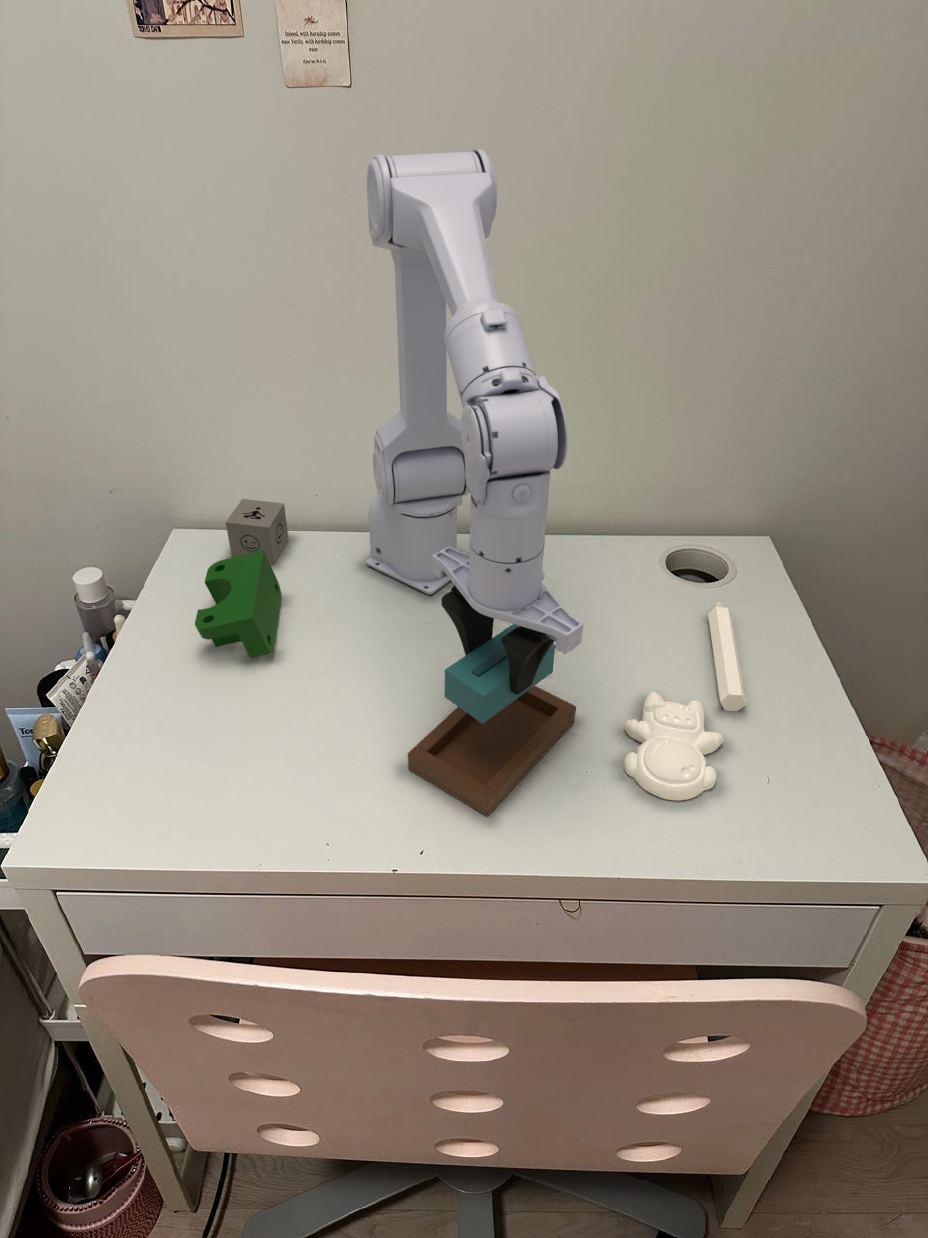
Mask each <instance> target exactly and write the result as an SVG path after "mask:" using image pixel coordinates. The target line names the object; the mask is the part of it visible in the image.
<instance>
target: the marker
mask: <svg viewBox="0 0 928 1238" xmlns="http://www.w3.org/2000/svg"><path fill="white" fill-rule="evenodd" d="M708 622H709V623H708V624H709V631H710V637H711V645H712V651H713V661H714V666H715V667H714V668H715V674H716V675H715V676H716V683H717V690H718V696H719V702H720V705H721V706H722V708H723V710H724V711H727V712H739V711H740V710H742V709H743V708H744V707H745V706H746V705H747V698H746V693H745V687H744V681H743V675H742V669H741V662H740V657H739V656H740V655H739V651H738V644H737V638H736V633H735V627H734V622H733V615H732V613H731V611H730V609H729V607H724V606H723V604H722V603H721V602H720V600H717V601H716V604H715V606H714V607H713V609H712V610H711V611H710V612H708Z"/></svg>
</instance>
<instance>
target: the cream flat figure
mask: <svg viewBox="0 0 928 1238" xmlns="http://www.w3.org/2000/svg"><path fill="white" fill-rule="evenodd" d="M705 715H706V714H705V709H704V706H703V704H702V702H701V701H700V700H697V699H693V700H690V701H689V702H688V703H687V704H683V703H679V702H674V701H666V700H665V699H664V698H663V697H662V696H661V694H659V693H658V692H657V691H652V692H650V693H648V694H647V696H646V698H645V699H644V703H643V708H642V716H641V717H642V718H641V720H639V721H638V720H637V719H636V718H632V719H628V720H626V722H625V723H624V728H625V732H626V734H627V736H629V738H632V739H633V740H635V741H637V742H639V743H641V744H639V746H638V747H637V748H636V752H634V751H631V752H628V753H627V754H626V756H625V757H624V760H623V768H624V771H625V773H626V774H627V775H628V776H629V777H631V778H633V779H634V780H635V782H636V784H638V785H639V786H640V787H641V788H642V789H643V790H645V791H646V792H647V793H649V794H651V795H653V796H656V797H658V798H660V799H663V800H668V801H669V800H670V801H687V800H691V799H694V798H695V797H698V796H699V795H701V794H702V793H703V791H708V790H710V789H712V788H713V787H714V785H715V784H716V782H717V772H716V770H715V768H714V767H713V766H712V765H708V766H707V759H706V757H705V755H708V754H712V753H714V752H715V751H716V750H718V749H719V747H720V746H721V745H722V744H723V743H724V736H723V735H722V734H721V733H719V732H716V731H709V730H708V731H706V730H705V719H706V718H705Z"/></svg>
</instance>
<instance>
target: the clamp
mask: <svg viewBox="0 0 928 1238" xmlns="http://www.w3.org/2000/svg"><path fill="white" fill-rule="evenodd" d="M204 584H205V586H206V588H207V590H208V592H209V593H210V595H211V597H212V599H213V601H214V603H215V605H212V606H210V607H207V608H202V609H197V612H196V617H195V620H194V627H195V628H196V630H197V631H198V633H199V636H200V638H202V639H204V640H211V642H212V643H213V645H214V646H215V648H218V647H224V646H226V645H231V644H236V643H240V642H241V644H242V647H244V649H245V651H246V654H247V655H248V657H249V658H250V659H256V658H260V657H264V656H269V655H274V653H275V650H276V649H275V648H276V642H277V634H278V627H279V626H278V625H279V618H280V610H281V604H282V603H281V602H282V590H281V587H280V583H279V580H278V578H277V576H276V574H275V572H274V569H273V568H272V564H270V563H269V561H268V559H267V557H266V555H265V552H264V550H262V551H258V552H253V553H249V554H245V555H241V556H237V557H233V558H232V557H229V558H225V559H221V560H218V561H216V562H214V563H212V564H211V565H210V566H209V567H208V568H207V570H206V575H205V578H204Z"/></svg>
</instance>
